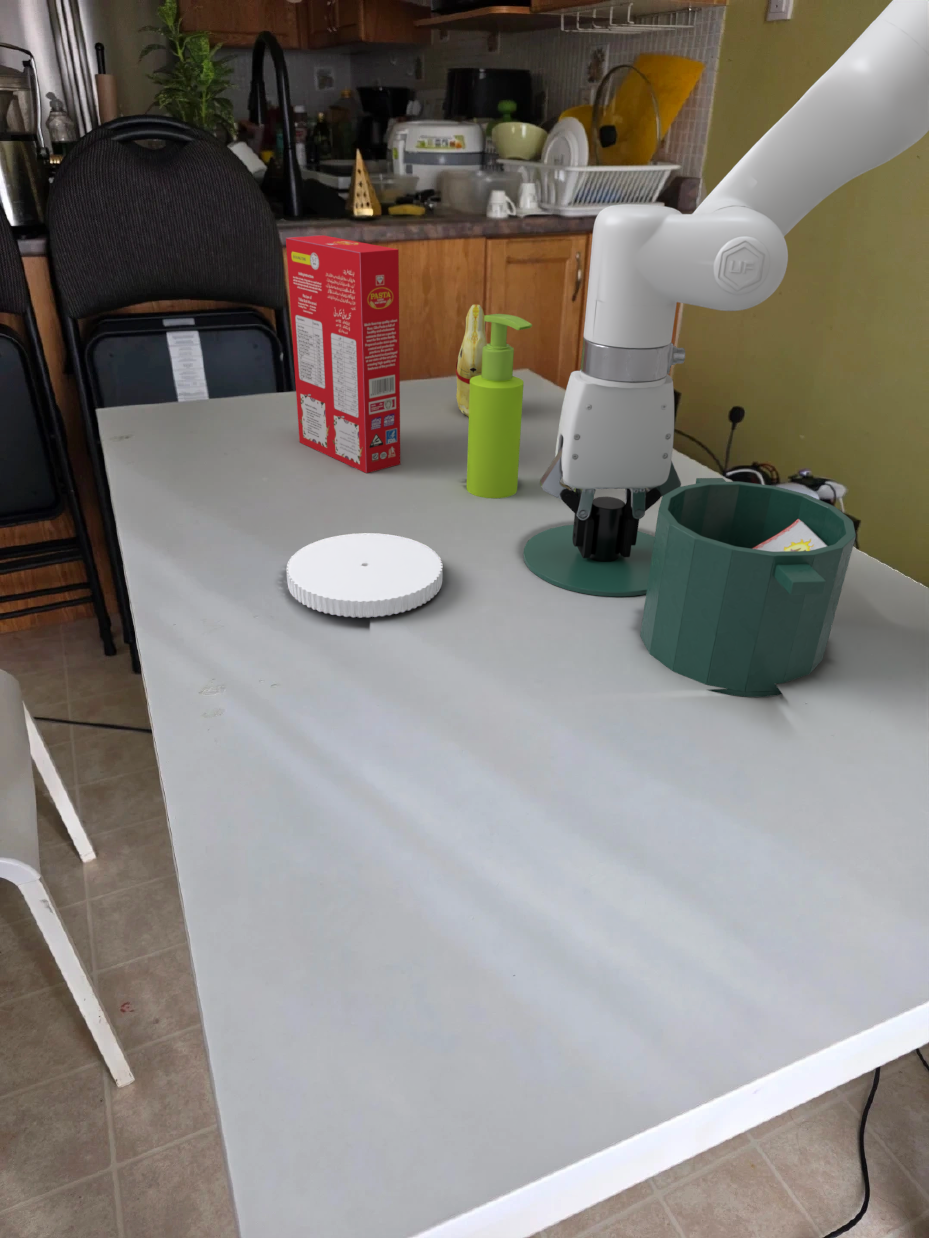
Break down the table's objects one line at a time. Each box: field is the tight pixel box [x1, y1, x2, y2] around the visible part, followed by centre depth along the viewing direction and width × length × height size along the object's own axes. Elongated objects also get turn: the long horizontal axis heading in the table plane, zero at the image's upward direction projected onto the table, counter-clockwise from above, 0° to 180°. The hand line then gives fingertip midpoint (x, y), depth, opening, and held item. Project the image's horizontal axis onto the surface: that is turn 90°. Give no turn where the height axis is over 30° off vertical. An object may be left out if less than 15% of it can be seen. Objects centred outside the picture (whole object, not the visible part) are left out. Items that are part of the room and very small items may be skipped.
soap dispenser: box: [466, 313, 533, 499], centre depth 97 cm, size 6×7×20 cm
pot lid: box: [522, 496, 655, 598], centre depth 85 cm, size 15×15×7 cm
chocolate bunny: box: [455, 303, 488, 418], centre depth 128 cm, size 7×11×15 cm, turn 178°
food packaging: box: [285, 234, 401, 474], centre depth 107 cm, size 15×5×25 cm, turn 42°
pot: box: [639, 477, 857, 698], centre depth 71 cm, size 14×20×12 cm
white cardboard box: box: [752, 519, 827, 552], centre depth 71 cm, size 4×7×10 cm
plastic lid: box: [285, 532, 444, 618], centre depth 80 cm, size 14×14×2 cm
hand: (602, 550), depth 86 cm, fingers closed on pot lid, 3 cm apart
